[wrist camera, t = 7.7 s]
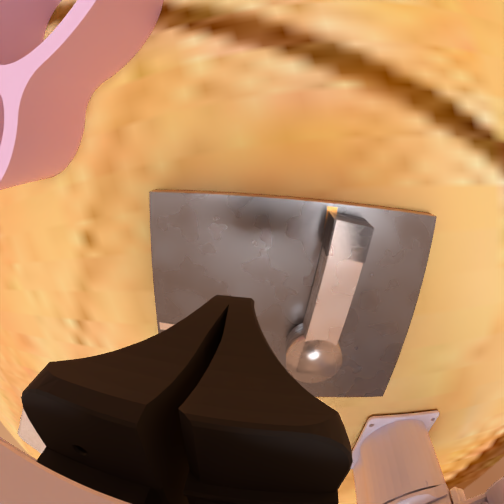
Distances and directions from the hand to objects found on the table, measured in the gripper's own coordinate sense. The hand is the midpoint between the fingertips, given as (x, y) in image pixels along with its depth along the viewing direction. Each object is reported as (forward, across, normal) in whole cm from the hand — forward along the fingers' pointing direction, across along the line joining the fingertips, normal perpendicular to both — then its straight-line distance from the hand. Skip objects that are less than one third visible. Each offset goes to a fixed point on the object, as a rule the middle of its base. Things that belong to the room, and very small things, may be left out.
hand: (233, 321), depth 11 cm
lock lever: (+8, -5, +3) cm, 10 cm away
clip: (+10, +14, -14) cm, 22 cm away
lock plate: (+9, -2, +4) cm, 11 cm away
